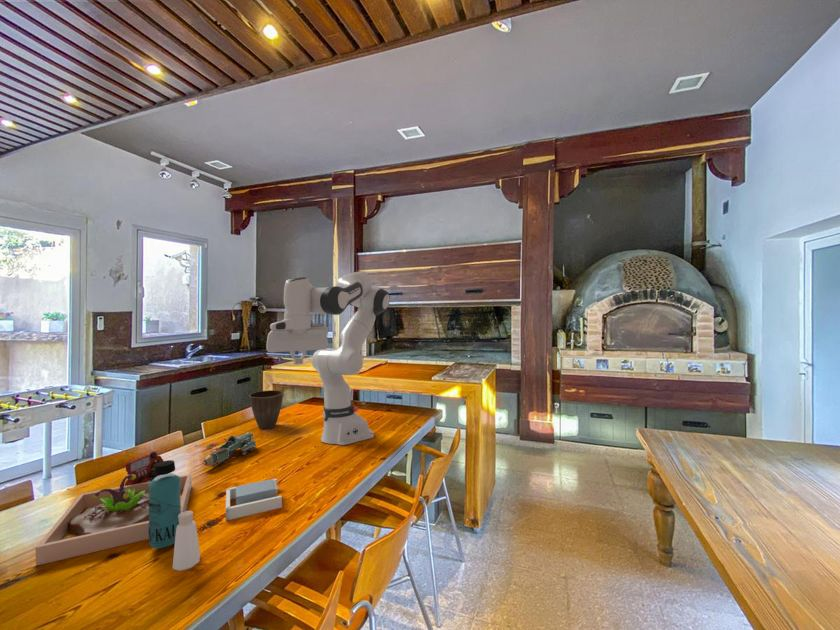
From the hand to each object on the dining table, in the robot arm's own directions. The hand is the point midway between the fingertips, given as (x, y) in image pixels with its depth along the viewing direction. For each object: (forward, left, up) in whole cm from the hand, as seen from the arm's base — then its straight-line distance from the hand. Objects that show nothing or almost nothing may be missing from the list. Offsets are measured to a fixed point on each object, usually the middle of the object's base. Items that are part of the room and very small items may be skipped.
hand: (298, 364), depth 128 cm
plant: (+47, +7, -38) cm, 61 cm away
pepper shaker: (+30, +37, -37) cm, 60 cm away
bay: (+15, +16, -37) cm, 43 cm away
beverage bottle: (+35, +28, -37) cm, 58 cm away
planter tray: (+46, +9, -37) cm, 60 cm away
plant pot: (+6, -59, -37) cm, 70 cm away
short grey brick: (+15, +16, -37) cm, 43 cm away
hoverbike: (+22, -25, -38) cm, 50 cm away
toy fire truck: (+45, -11, -37) cm, 60 cm away
